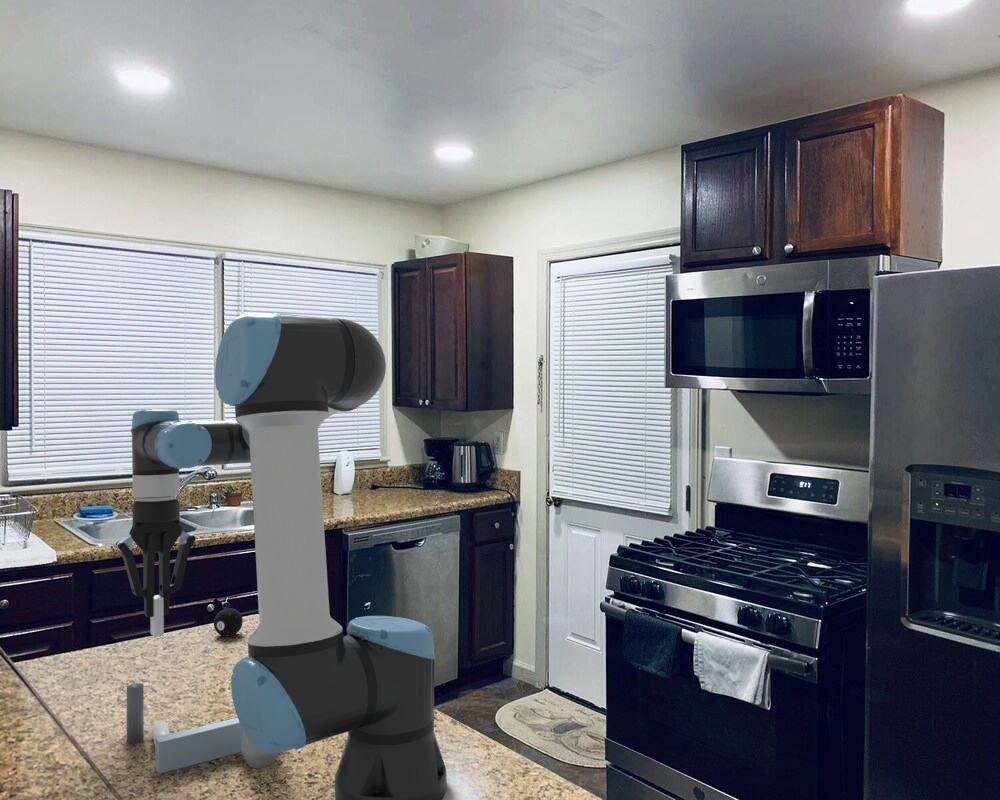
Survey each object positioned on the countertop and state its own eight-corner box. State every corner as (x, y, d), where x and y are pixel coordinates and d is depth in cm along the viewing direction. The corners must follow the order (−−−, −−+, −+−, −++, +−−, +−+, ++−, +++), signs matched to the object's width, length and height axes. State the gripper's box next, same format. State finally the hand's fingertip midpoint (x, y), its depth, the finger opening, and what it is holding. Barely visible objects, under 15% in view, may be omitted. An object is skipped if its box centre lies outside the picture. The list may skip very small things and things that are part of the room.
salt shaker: (269, 772, 115) (269, 682, 115) (233, 769, 116) (233, 679, 116) (288, 754, 120) (288, 668, 120) (253, 751, 122) (253, 665, 121)
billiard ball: (247, 632, 182) (247, 606, 182) (232, 640, 176) (232, 613, 176) (224, 630, 184) (224, 604, 184) (208, 638, 178) (208, 611, 178)
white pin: (148, 730, 126) (152, 752, 119) (159, 718, 127) (165, 738, 119) (159, 739, 127) (165, 761, 119) (171, 726, 128) (177, 747, 120)
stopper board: (280, 741, 125) (280, 712, 125) (159, 773, 114) (159, 742, 114) (275, 736, 127) (275, 708, 127) (155, 768, 116) (155, 737, 116)
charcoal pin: (145, 740, 125) (145, 686, 125) (128, 744, 124) (128, 689, 124) (141, 735, 127) (141, 682, 127) (125, 739, 126) (125, 685, 126)
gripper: (188, 493, 146) (189, 623, 146) (110, 499, 138) (111, 636, 138) (201, 497, 140) (202, 632, 140) (120, 503, 132) (121, 646, 132)
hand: (157, 634), depth 139 cm, fingers closed
